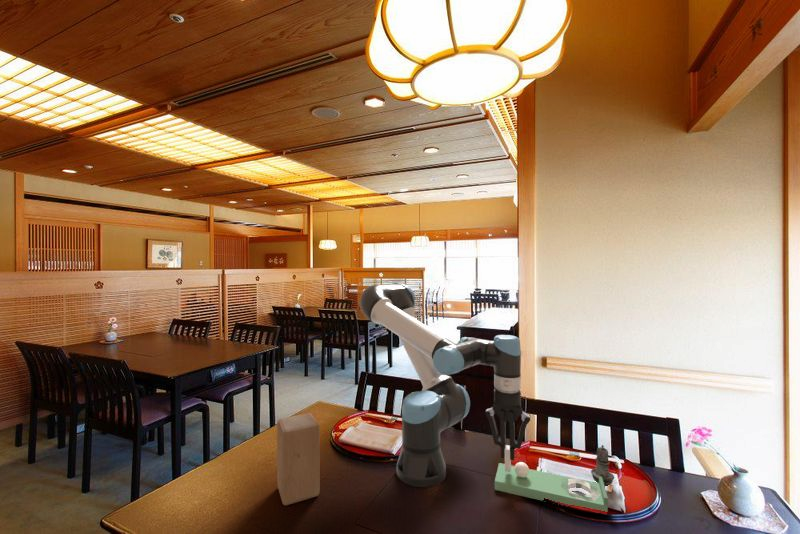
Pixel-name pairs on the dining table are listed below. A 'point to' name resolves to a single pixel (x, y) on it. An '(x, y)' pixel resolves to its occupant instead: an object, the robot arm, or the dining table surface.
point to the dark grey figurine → (602, 467)
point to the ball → (521, 469)
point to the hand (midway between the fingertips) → (507, 469)
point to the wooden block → (298, 458)
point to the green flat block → (552, 488)
